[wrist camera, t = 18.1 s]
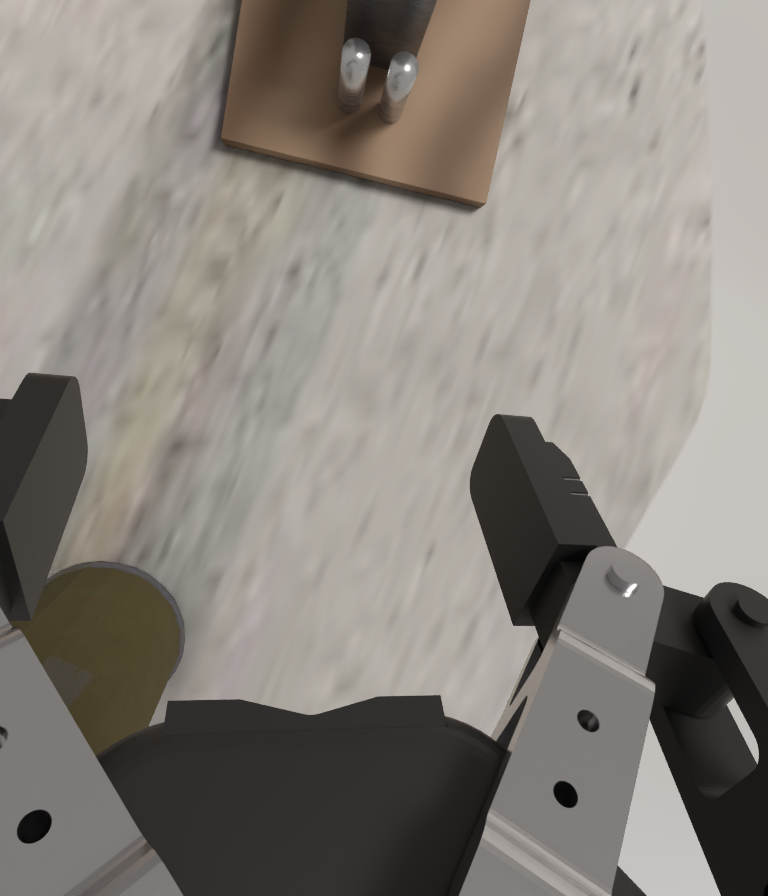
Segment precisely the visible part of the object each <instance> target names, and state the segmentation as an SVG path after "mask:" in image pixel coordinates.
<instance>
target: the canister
mask: <svg viewBox="0 0 768 896" xmlns="http://www.w3.org/2000/svg"><path fill="white" fill-rule="evenodd" d="M9 623H10V624H11V626H12V627H15V626H17V627H18V628H19V629H20V630H21V632H22V633H23V635H24V636H25V638H26V639H27V641H28V643H29V644H30V646H31V648H32V649H33V651H34V653H35V654H36V656H37V658H38V660H39V661H40V663H41V665H42V666H43V668H44V670H45V671H46V673H47V675H48V677H49V678H50V680H51V682H52V683H53V685H54V687H55V688H56V690H57V692H58V693H59V695H60V697H61V699H62V700H63V702H64V704H65V705H66V707H67V709H68V710H69V712H70V714H71V715H72V717H73V719H74V721H75V722H76V724H77V726H78V727H79V729H80V731H81V732H82V734H83V736H84V738H85V739H86V741H87V743H88V744H89V746H90V748H91V749H92V751H93V753H94V754H95V756H96V755H98V754H99V753H101V752H102V751H103V750H105V749H106V748H108V747H109V746H111V745H112V744H114V743H116V742H117V741H119V740H121V739H123V738H125V737H127V736H129V735H131V734H132V733H135V732H137V731H140V730H142V729H145V728H147V727H148V726H149V724H150V721H151V719H152V716H153V714H154V712H155V709H156V707H157V705H158V702H159V700H160V698H161V695H162V693H163V691H164V688H165V686H166V684H167V682H168V680H169V679H170V678H171V676H172V675H173V674H174V672H175V671H176V669H177V667H178V665H179V663H180V660H181V658H182V654H183V649H184V642H185V634H184V621H183V618H182V616H181V613H180V611H179V608H178V606H177V604H176V602H175V599H174V598H173V596H172V595H171V594H170V593H169V592H168V591H167V590H166V588H165V587H164V586H163V585H161V584H160V583H159V582H158V581H156V580H155V579H154V578H153V577H152V576H150V575H149V574H147V573H145V572H143V571H141V570H139V569H137V568H135V567H132V566H128V565H124V564H120V563H113V562H105V561H97V562H87V563H81V564H78V565H74V566H72V567H69V568H67V569H64V570H62V571H60V572H58V573H57V574H55V575H53V576H52V577H50V578H49V579H48V580H46V582H45V585H44V587H43V590H42V593H41V596H40V598H39V601H38V604H37V607H36V609H35V612H34V615H33V618H32V620H31V621H9Z"/></svg>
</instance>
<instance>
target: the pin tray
mask: <svg viewBox="0 0 768 896" xmlns="http://www.w3.org/2000/svg"><path fill="white" fill-rule="evenodd" d="M347 1H348V0H242V3H241V9H240V16H239V22H238V29H237V36H236V42H235V49H234V55H233V62H232V68H231V75H230V82H229V88H228V95H227V101H226V108H225V115H224V121H223V128H222V134H221V139H222V141H223V143H224V144H225V145H229V146H233V147H237V148H241V149H245V150H249V151H253V152H257V153H261V154H265V155H270V156H274V157H278V158H282V159H286V160H290V161H294V162H298V163H302V164H306V165H310V166H314V167H318V168H322V169H326V170H330V171H334V172H339V173H343V174H347V175H351V176H355V177H359V178H363V179H367V180H371V181H375V182H379V183H383V184H387V185H391V186H395V187H399V188H403V189H408V190H412V191H416V192H420V193H424V194H428V195H432V196H436V197H440V198H444V199H448V200H452V201H456V202H460V203H464V204H468V205H472V206H477V207H482V206H483V205H485V204H486V201H487V196H488V192H489V187H490V182H491V178H492V173H493V169H494V164H495V160H496V155H497V150H498V146H499V141H500V137H501V132H502V128H503V123H504V118H505V114H506V109H507V105H508V100H509V96H510V91H511V86H512V82H513V77H514V73H515V68H516V64H517V59H518V55H519V50H520V45H521V41H522V36H523V32H524V27H525V23H526V18H527V13H528V9H529V4H530V0H437V2H436V5H435V8H434V11H433V13H432V16H431V19H430V22H429V24H428V27H427V30H426V33H425V35H424V38H423V41H422V44H421V46H420V49H419V52H418V55H417V57H416V58H415V56H414V55H413V54H411V53H409V52H406V51H402V52H399V53H397V54H396V55H394V57H393V58H392V60H391V64H390V67H389V71H388V70H384V69H381V68H377V67H374V66H370V65H369V63H370V58H371V51H370V48H369V46H368V44H367V43H366V42H365V41H364V40H362V39H360V38H352V39H349V40H348V41H347V42H346V43H345V44H344V46H343V42H344V32H345V22H346V12H347Z"/></svg>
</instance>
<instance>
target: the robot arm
mask: <svg viewBox="0 0 768 896" xmlns="http://www.w3.org/2000/svg"><path fill="white" fill-rule="evenodd" d="M87 454H88V446H87V437H86V429H85V422H84V415H83V408H82V401H81V394H80V387H79V383H78V380H77V378H76V377H73V376H62V375H50V374H39V373H28V374H27V375H26V376H25V378H24V379H23V381H22V383H21V384H20V386H19V388H18V390H17V391H16V393H15V395H14V397H13V398H12V400H11V399H0V896H646V895H645V893H643V891H641V889H640V888H639V887H638V886H637V885H636V884H635V883H633V881H632V880H631V879H630V878H629V877H628V876H627V875H626V874H625V873H624V872H623V871H622V870H621V868H620V867H619V866H618V860H619V856H620V851H621V846H622V842H623V837H624V833H625V828H626V824H627V819H628V814H629V809H630V805H631V800H632V796H633V791H634V787H635V782H636V778H637V773H638V768H639V763H640V759H641V754H642V750H643V746H644V741H645V736H646V731H647V727H648V722H649V719H650V721H651V724H652V726H653V729H654V731H655V734H656V736H657V739H658V741H659V743H660V746H661V749H662V751H663V753H664V756H665V758H666V761H667V763H668V766H669V768H670V771H671V773H672V776H673V778H674V780H675V783H676V786H677V788H678V791H679V793H680V795H681V798H682V800H683V803H684V805H685V808H686V810H687V813H688V815H689V818H690V820H691V823H692V825H693V828H694V830H695V833H696V835H697V837H698V840H699V842H700V845H701V847H702V850H703V852H704V855H705V857H706V859H707V862H708V864H709V867H710V870H711V872H712V874H713V877H714V879H715V882H716V884H717V887H718V889H719V892H720V894H721V896H768V599H767V598H766V597H765V596H763V595H762V594H760V593H758V592H757V591H755V590H753V589H751V588H749V587H746V586H744V585H741V584H737V583H731V582H724V583H719V584H717V585H715V586H714V587H713V588H712V589H711V590H710V591H709V593H708V594H707V595H706V596H705V597H704V598H703V597H699V596H696V595H693V594H689V593H686V592H683V591H679V590H676V589H673V588H669V587H666V586H663V585H662V582H661V580H660V578H659V576H658V575H657V573H656V572H655V571H654V570H653V569H652V568H651V566H650V565H649V564H647V563H646V562H645V561H644V560H642V559H641V558H640V557H638V556H636V555H635V554H633V553H631V552H629V551H627V550H624V549H621V548H617V546H616V544H615V542H614V540H613V538H612V536H611V535H610V533H609V531H608V529H607V527H606V525H605V523H604V521H603V520H602V518H601V516H600V514H599V512H598V510H597V508H596V507H595V505H594V503H593V501H592V499H591V497H590V496H588V492H587V490H586V488H585V486H584V484H583V482H582V481H580V477H579V475H578V473H577V471H576V469H575V467H574V465H573V464H572V462H571V460H570V459H569V458H568V457H567V456H566V455H565V454H564V453H563V452H562V451H561V450H560V449H559V448H558V447H557V446H556V445H555V444H554V443H553V442H545V440H544V438H543V436H542V435H541V433H540V431H539V429H538V427H537V425H536V423H535V421H534V419H533V418H531V417H524V416H512V415H501V414H496V415H494V416H493V418H492V419H491V421H490V423H489V426H488V428H487V431H486V433H485V436H484V439H483V441H482V444H481V447H480V449H479V452H478V455H477V457H476V460H475V462H474V465H473V468H472V471H471V476H470V494H471V498H472V501H473V504H474V507H475V510H476V514H477V517H478V520H479V523H480V526H481V529H482V532H483V535H484V538H485V541H486V544H487V547H488V550H489V553H490V556H491V559H492V562H493V565H494V569H495V572H496V575H497V578H498V581H499V584H500V587H501V590H502V593H503V596H504V599H505V602H506V605H507V608H508V611H509V614H510V617H511V620H512V624H513V626H535V628H536V630H537V633H538V638H537V639H536V641H535V642H534V644H533V646H532V648H531V650H530V653H529V655H528V657H527V659H526V662H525V664H524V666H523V669H522V671H521V673H520V675H519V678H518V680H517V682H516V684H515V687H514V689H513V691H512V693H511V696H510V698H509V700H508V702H507V705H506V707H505V709H504V712H503V714H502V716H501V718H500V720H499V722H498V724H497V726H496V728H495V730H494V732H493V734H492V735H491V737H489V736H488V735H486V734H485V733H483V732H482V731H480V730H478V729H476V728H474V727H472V726H470V725H468V724H466V723H464V722H461V721H459V720H456V719H453V718H450V717H446V716H444V711H443V706H442V701H441V696H440V695H433V696H385V697H375V698H372V699H368V700H365V701H361V702H358V703H355V704H351V705H348V706H344V707H341V708H337V709H334V710H331V711H327V712H324V713H320V714H316V715H305V714H300V713H296V712H291V711H287V710H283V709H279V708H274V707H270V706H266V705H261V704H257V703H253V702H248V701H244V700H240V699H239V700H190V701H168V703H167V710H166V716H165V722H163V723H160V724H156V725H153V726H150V727H147V728H145V729H142V730H140V731H137V732H135V733H132V734H131V735H129V736H127V737H125V738H123V739H121V740H119V741H117V742H116V743H114V744H112V745H111V746H109V747H108V748H106V749H105V750H103V751H102V752H101V753H99V754H98V755H96V756H95V754H94V753H93V751H92V749H91V748H90V746H89V744H88V743H87V741H86V739H85V738H84V736H83V734H82V732H81V731H80V729H79V727H78V726H77V724H76V722H75V721H74V719H73V717H72V715H71V714H70V712H69V710H68V709H67V707H66V705H65V704H64V702H63V700H62V699H61V697H60V695H59V693H58V692H57V690H56V688H55V687H54V685H53V683H52V682H51V680H50V678H49V677H48V675H47V673H46V671H45V670H44V668H43V666H42V665H41V663H40V661H39V660H38V658H37V656H36V654H35V653H34V651H33V649H32V648H31V646H30V644H29V643H28V641H27V639H26V638H25V636H24V635H23V633H22V632H21V630H20V629H19V628H18V627H17V626H15V627H12V626H11V624H10V623H9V621H31V620H32V618H33V615H34V612H35V609H36V607H37V604H38V601H39V598H40V596H41V593H42V590H43V587H44V585H45V582H46V579H47V576H48V573H49V571H50V568H51V565H52V562H53V560H54V557H55V554H56V551H57V549H58V546H59V543H60V540H61V538H62V535H63V532H64V529H65V527H66V524H67V521H68V518H69V516H70V513H71V510H72V507H73V505H74V502H75V499H76V496H77V494H78V491H79V488H80V485H81V483H82V480H83V477H84V474H85V470H86V464H87ZM733 698H735V700H736V702H737V704H738V706H739V708H740V710H741V712H742V713H743V715H744V717H745V719H746V721H747V723H748V724H749V727H750V729H751V730H752V732H753V734H754V736H755V738H756V741H757V744H758V749H759V761H758V764H757V763H756V761H755V759H754V757H753V756H752V754H751V752H750V750H749V748H748V746H747V744H746V742H745V740H744V738H743V736H742V734H741V732H740V730H739V728H738V726H737V724H736V722H735V720H734V718H733V717H732V715H731V713H730V711H729V709H728V707H727V704H728V702H730V701H731V700H732V699H733Z"/></svg>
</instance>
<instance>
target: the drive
mask: <svg viewBox="0 0 768 896" xmlns="http://www.w3.org/2000/svg"><path fill="white" fill-rule="evenodd" d="M436 2H437V0H348V1H347V12H346V22H345V32H344V42H343V46H344V44H345V43H346V42H347V41H348V40H349V39H352V38H360V39H362V40H364V41H365V42H366V43H367V44H368V46H369V48H370V51H371V58H370V63H369V65H370V66H374V67H377V68H381V69H384V70H388V71H389V67H390V64H391V60H392V58H393V57H394V55H396V54H397V53H399V52H402V51H406V52H409V53H411V54H413V55H414V56H415V58H416V57H417V55H418V52H419V49H420V46H421V44H422V41H423V38H424V35H425V33H426V30H427V27H428V24H429V22H430V19H431V16H432V13H433V11H434V8H435V5H436Z"/></svg>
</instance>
